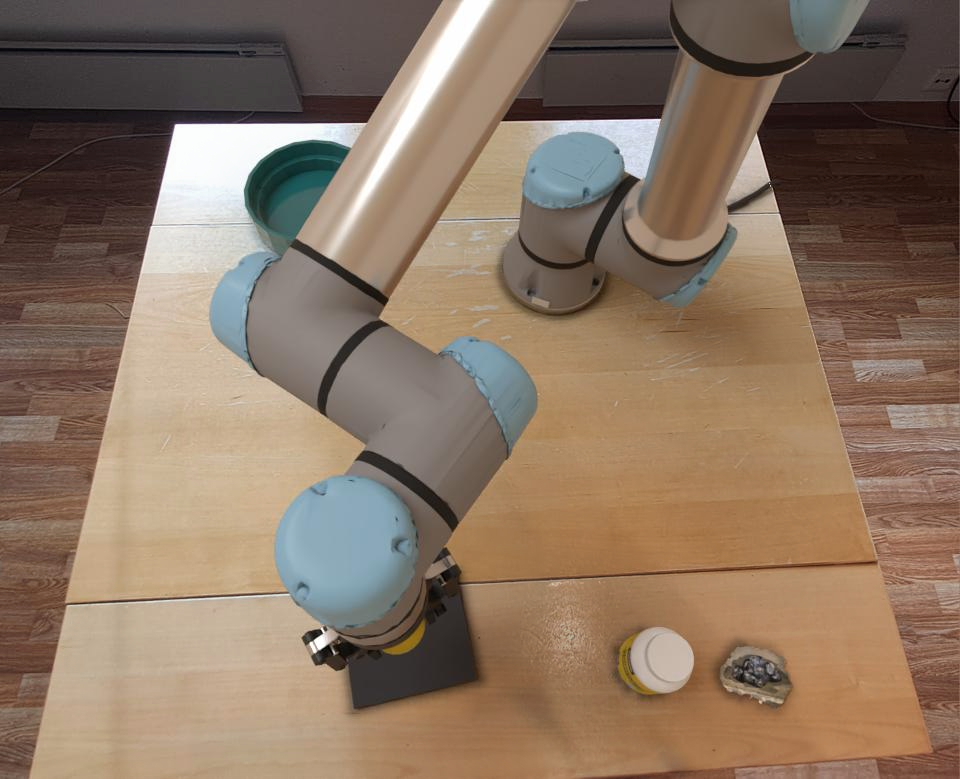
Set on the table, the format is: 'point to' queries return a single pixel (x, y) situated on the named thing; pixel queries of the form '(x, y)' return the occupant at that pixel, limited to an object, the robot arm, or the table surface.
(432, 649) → the mat
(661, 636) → the pill bottle
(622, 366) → the table surface
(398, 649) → the lemon
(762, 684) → the mineral rock
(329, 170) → the bowl
